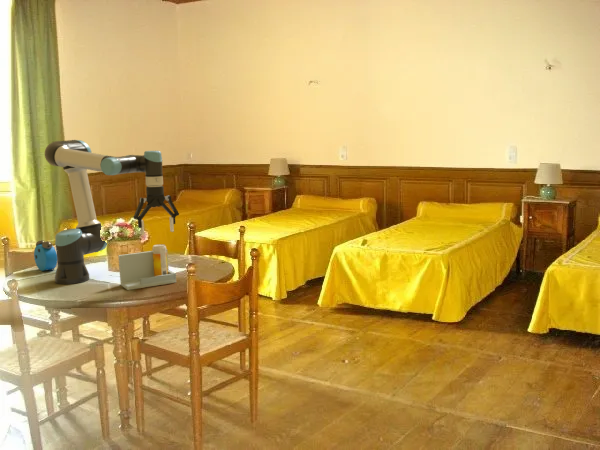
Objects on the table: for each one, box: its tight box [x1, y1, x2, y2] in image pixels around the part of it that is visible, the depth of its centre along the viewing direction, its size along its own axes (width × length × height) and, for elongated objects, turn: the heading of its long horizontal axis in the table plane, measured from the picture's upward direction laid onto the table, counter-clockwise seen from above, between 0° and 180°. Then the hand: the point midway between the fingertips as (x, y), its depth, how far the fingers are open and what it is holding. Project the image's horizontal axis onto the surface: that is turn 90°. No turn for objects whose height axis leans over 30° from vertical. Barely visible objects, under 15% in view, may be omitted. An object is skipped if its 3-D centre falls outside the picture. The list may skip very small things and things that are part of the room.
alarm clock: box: [33, 239, 58, 272], centre depth 331 cm, size 13×6×15 cm, turn 47°
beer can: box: [151, 243, 169, 276], centre depth 299 cm, size 6×6×15 cm
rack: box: [118, 248, 177, 291], centre depth 295 cm, size 22×11×14 cm, turn 120°
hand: (157, 233), depth 296 cm, fingers open, 13 cm apart
